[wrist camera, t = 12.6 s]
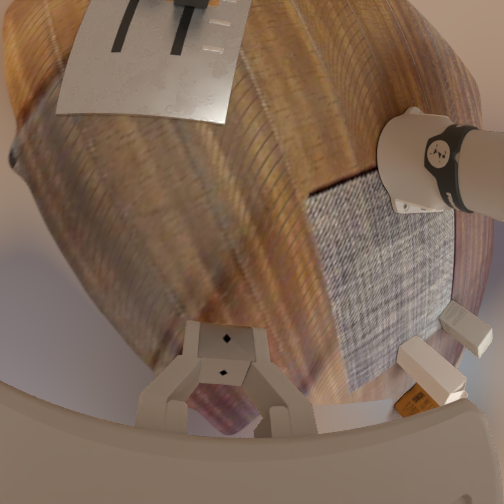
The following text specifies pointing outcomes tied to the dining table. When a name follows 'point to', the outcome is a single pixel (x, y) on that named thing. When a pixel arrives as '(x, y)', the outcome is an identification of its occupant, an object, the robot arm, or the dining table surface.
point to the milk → (431, 371)
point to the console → (154, 60)
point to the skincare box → (466, 328)
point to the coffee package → (415, 402)
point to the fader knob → (192, 3)
